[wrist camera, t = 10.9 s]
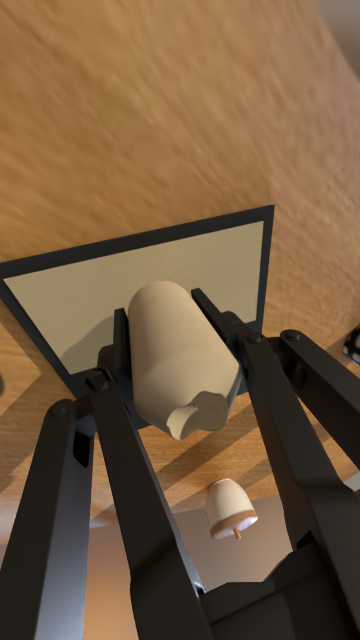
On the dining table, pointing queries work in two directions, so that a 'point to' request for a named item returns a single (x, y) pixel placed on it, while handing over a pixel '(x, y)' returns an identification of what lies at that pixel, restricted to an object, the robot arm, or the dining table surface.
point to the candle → (178, 363)
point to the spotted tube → (353, 346)
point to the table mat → (136, 285)
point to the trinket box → (228, 509)
